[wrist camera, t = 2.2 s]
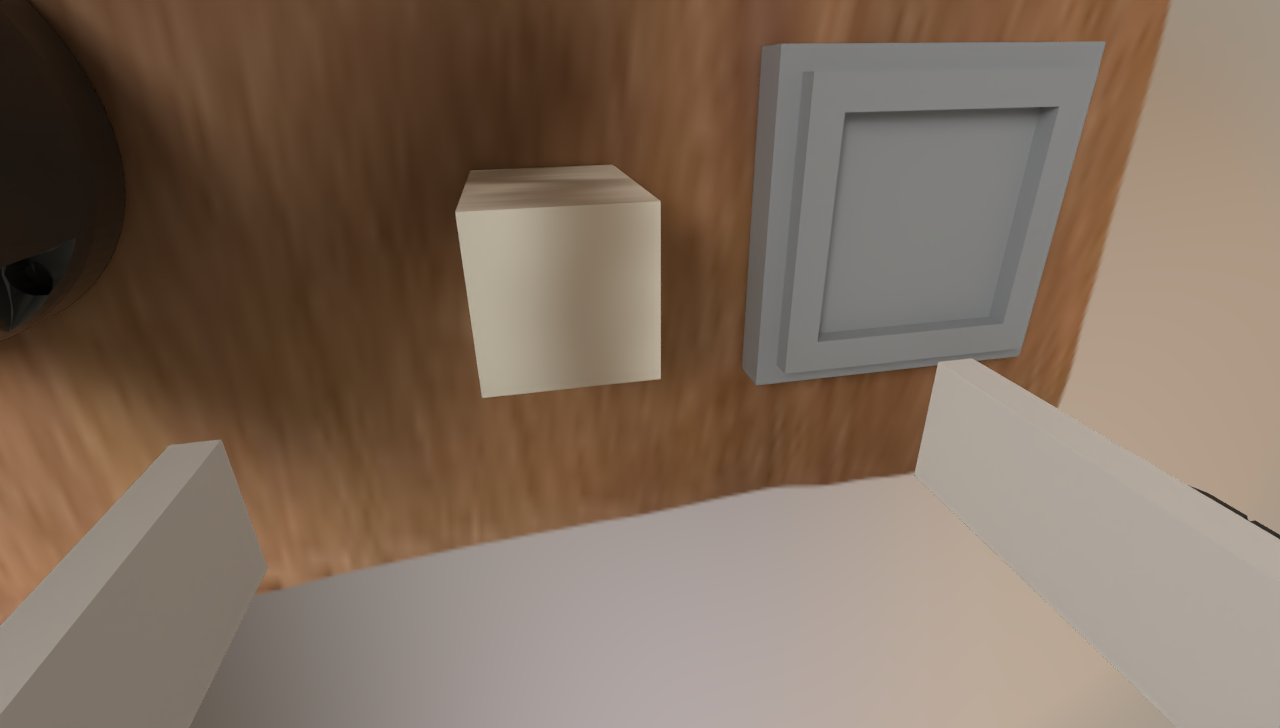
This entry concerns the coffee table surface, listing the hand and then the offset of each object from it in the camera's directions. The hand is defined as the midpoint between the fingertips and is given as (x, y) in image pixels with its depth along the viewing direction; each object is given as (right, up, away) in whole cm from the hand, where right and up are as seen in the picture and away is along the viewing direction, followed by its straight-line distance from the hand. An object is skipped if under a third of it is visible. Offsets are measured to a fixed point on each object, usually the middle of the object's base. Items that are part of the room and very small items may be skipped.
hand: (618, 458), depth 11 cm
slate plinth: (+13, +9, +18) cm, 24 cm away
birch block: (-4, +7, +16) cm, 18 cm away
